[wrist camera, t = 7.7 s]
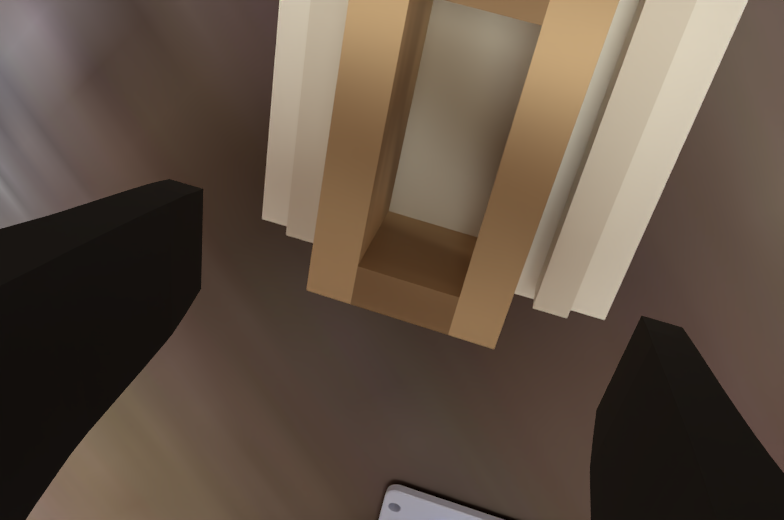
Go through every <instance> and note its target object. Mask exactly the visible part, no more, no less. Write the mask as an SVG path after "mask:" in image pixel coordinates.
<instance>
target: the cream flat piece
mask: <svg viewBox="0 0 784 520" xmlns="http://www.w3.org/2000/svg"><path fill="white" fill-rule="evenodd" d="M348 1H349V0H280V1H279V14H278V26H277V38H276V51H275V63H274V75H273V88H272V100H271V112H270V125H269V137H268V149H267V162H266V174H265V186H264V199H263V211H262V219H263V220H267V221H270V222H274V223H277V224H280V225H284V226H287V229H286V235H287V236H291V237H294V238H297V239H301V240H304V241H307V242H311V243H313V241H314V234H315V227H316V221H317V214H318V207H319V200H320V193H321V186H322V179H323V173H324V166H325V159H326V152H327V145H328V138H329V131H330V125H331V118H332V111H333V104H334V97H335V90H336V83H337V77H338V70H339V63H340V56H341V49H342V42H343V35H344V29H345V22H346V15H347V8H348ZM747 2H748V0H620V1H619V3H618V6H617V9H616V12H615V14H614V17H613V20H612V23H611V26H610V28H609V31H608V34H607V37H606V39H605V42H604V45H603V48H602V51H601V53H600V56H599V59H598V62H597V65H596V67H595V70H594V73H593V76H592V78H591V81H590V84H589V87H588V90H587V92H586V95H585V98H584V101H583V104H582V106H581V109H580V112H579V115H578V117H577V120H576V123H575V126H574V129H573V131H572V134H571V137H570V140H569V142H568V145H567V148H566V151H565V154H564V156H563V159H562V162H561V165H560V168H559V170H558V173H557V176H556V179H555V181H554V184H553V187H552V190H551V193H550V195H549V198H548V201H547V204H546V206H545V209H544V212H543V215H542V218H541V220H540V223H539V226H538V229H537V232H536V234H535V237H534V240H533V243H532V245H531V248H530V251H529V254H528V257H527V259H526V262H525V265H524V268H523V271H522V273H521V276H520V279H519V282H518V284H517V287H516V290H515V293H514V294H518V295H521V296H524V297H528V298H531V299H534V302H533V309H537V310H540V311H543V312H547V313H550V314H554V315H557V316H560V317H564V318H567V317H568V315H569V313H570V310H572V311H575V312H579V313H582V314H585V315H589V316H592V317H596V318H599V319H602V320H605V318H606V316H607V314H608V312H609V309H610V307H611V305H612V303H613V300H614V298H615V296H616V294H617V292H618V289H619V287H620V285H621V283H622V280H623V278H624V276H625V274H626V271H627V269H628V267H629V265H630V263H631V260H632V258H633V256H634V254H635V251H636V249H637V247H638V245H639V242H640V240H641V238H642V236H643V234H644V231H645V229H646V227H647V225H648V222H649V220H650V218H651V216H652V213H653V211H654V209H655V207H656V205H657V202H658V200H659V198H660V196H661V193H662V191H663V189H664V187H665V184H666V182H667V180H668V178H669V176H670V173H671V171H672V169H673V167H674V164H675V162H676V160H677V158H678V155H679V153H680V151H681V149H682V147H683V144H684V142H685V140H686V138H687V135H688V133H689V131H690V129H691V127H692V124H693V122H694V120H695V118H696V115H697V113H698V111H699V109H700V106H701V104H702V102H703V100H704V98H705V95H706V93H707V91H708V89H709V86H710V84H711V82H712V80H713V77H714V75H715V73H716V71H717V69H718V66H719V64H720V62H721V60H722V57H723V55H724V53H725V51H726V48H727V46H728V44H729V42H730V40H731V37H732V35H733V33H734V31H735V28H736V26H737V24H738V22H739V19H740V17H741V15H742V13H743V11H744V8H745V6H746V4H747Z"/></svg>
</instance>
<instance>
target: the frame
mask: <svg viewBox="0 0 784 520" xmlns="http://www.w3.org/2000/svg"><path fill="white" fill-rule="evenodd" d="M619 1H620V0H349V1H348V8H347V15H346V22H345V29H344V35H343V42H342V49H341V56H340V63H339V70H338V77H337V83H336V90H335V97H334V104H333V111H332V118H331V125H330V131H329V138H328V145H327V152H326V159H325V166H324V173H323V179H322V186H321V193H320V200H319V207H318V214H317V221H316V227H315V234H314V241H313V248H312V255H311V262H310V269H309V275H308V282H307V289H306V290H307V291H310V292H314V293H317V294H320V295H323V296H326V297H329V298H333V299H336V300H339V301H342V302H345V303H348V304H352V305H355V306H358V307H361V308H364V309H368V310H371V311H374V312H377V313H380V314H383V315H387V316H390V317H393V318H396V319H399V320H402V321H406V322H409V323H412V324H415V325H418V326H422V327H425V328H428V329H431V330H434V331H437V332H441V333H444V334H447V335H450V336H453V337H456V338H460V339H463V340H466V341H469V342H472V343H476V344H479V345H482V346H485V347H488V348H491V349H494V348H495V346H496V343H497V340H498V337H499V335H500V332H501V329H502V326H503V323H504V321H505V318H506V315H507V312H508V309H509V307H510V304H511V301H512V298H513V296H514V293H515V290H516V287H517V284H518V282H519V279H520V276H521V273H522V271H523V268H524V265H525V262H526V259H527V257H528V254H529V251H530V248H531V245H532V243H533V240H534V237H535V234H536V232H537V229H538V226H539V223H540V220H541V218H542V215H543V212H544V209H545V206H546V204H547V201H548V198H549V195H550V193H551V190H552V187H553V184H554V181H555V179H556V176H557V173H558V170H559V168H560V165H561V162H562V159H563V156H564V154H565V151H566V148H567V145H568V142H569V140H570V137H571V134H572V131H573V129H574V126H575V123H576V120H577V117H578V115H579V112H580V109H581V106H582V104H583V101H584V98H585V95H586V92H587V90H588V87H589V84H590V81H591V78H592V76H593V73H594V70H595V67H596V65H597V62H598V59H599V56H600V53H601V51H602V48H603V45H604V42H605V39H606V37H607V34H608V31H609V28H610V26H611V23H612V20H613V17H614V14H615V12H616V9H617V6H618V3H619Z"/></svg>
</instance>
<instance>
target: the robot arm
mask: <svg viewBox="0 0 784 520" xmlns="http://www.w3.org/2000/svg"><path fill="white" fill-rule="evenodd" d="M202 217H203V189H201V188H198V187H194V186H191V185H187V184H184V183H180V182H177V181H174V180H170V179H168V180H163V181H159V182H155V183H151V184H147V185H144V186H140V187H137V188H134V189H131V190H127V191H124V192H121V193H118V194H115V195H112V196H109V197H106V198H103V199H99V200H96V201H93V202H90V203H87V204H84V205H81V206H77V207H74V208H71V209H68V210H65V211H62V212H59V213H55V214H52V215H49V216H45V217H42V218H38V219H35V220H31V221H27V222H24V223H20V224H17V225H13V226H10V227H6V228H2V229H0V520H26V518H27V517H28V515H29V514H30V512H31V511H32V509H33V508H34V506H35V505H36V503H37V502H38V500H39V499H40V497H41V496H42V495H43V493H44V492H45V490H46V489H47V487H48V486H49V484H50V483H51V482H52V480H53V479H54V477H55V476H56V474H57V473H58V472H59V470H60V469H61V467H62V466H63V464H64V463H65V461H66V460H67V459H68V457H69V456H70V454H71V453H72V452H73V451H74V449H75V448H76V447H77V446H78V444H79V443H80V442H81V440H82V439H83V438H84V437H85V435H86V434H87V433H88V432H89V431H90V429H91V428H92V427H93V426H94V425H95V424H96V422H97V421H98V420H99V419H100V418H101V417H102V416H103V414H104V413H105V412H106V411H107V410H108V409H109V407H110V406H111V405H112V404H113V403H114V402H115V401H116V399H117V398H118V397H119V396H120V395H121V394H122V392H123V391H124V390H125V389H126V388H127V387H128V386H129V384H130V383H131V382H132V381H133V380H134V379H135V377H136V376H137V375H138V374H139V373H140V372H141V371H142V369H143V368H144V367H145V366H146V365H147V364H148V362H149V361H150V360H151V359H152V358H153V357H154V355H155V354H156V353H157V352H158V351H159V349H160V348H161V347H162V346H163V345H164V344H165V342H166V341H167V340H168V339H169V337H170V336H171V335H172V334H173V332H174V331H175V329H176V328H177V326H178V325H179V323H180V322H181V320H182V318H183V317H184V315H185V314H186V312H187V311H188V309H189V307H190V306H191V304H192V302H193V301H194V299H195V298H196V296H197V294H198V293H199V291H200V289H201V264H202ZM590 498H591V520H784V473H783V472H782V470H781V469H780V468H779V466H778V465H777V464H776V463H775V461H774V460H773V459H772V457H771V456H770V455H769V454H768V452H767V451H766V449H765V448H764V447H763V445H762V444H761V443H760V441H759V440H758V439H757V437H756V436H755V434H754V433H753V432H752V430H751V429H750V427H749V426H748V425H747V423H746V422H745V420H744V419H743V417H742V416H741V415H740V413H739V412H738V410H737V409H736V407H735V406H734V404H733V403H732V401H731V400H730V398H729V397H728V395H727V394H726V392H725V391H724V389H723V388H722V386H721V385H720V383H719V382H718V380H717V379H716V377H715V376H714V374H713V373H712V371H711V370H710V368H709V367H708V365H707V364H706V362H705V360H704V359H703V357H702V356H701V354H700V353H699V351H698V350H697V348H696V347H695V345H694V344H693V342H692V341H691V339H690V338H689V336H688V335H687V333H686V332H685V331H684V329H683V328H682V327H679V326H675V325H672V324H668V323H665V322H661V321H658V320H655V319H651V318H648V317H644V316H641V318H640V320H639V322H638V324H637V327H636V329H635V331H634V333H633V335H632V337H631V339H630V341H629V343H628V345H627V347H626V350H625V352H624V354H623V356H622V358H621V360H620V362H619V364H618V366H617V368H616V371H615V373H614V375H613V377H612V379H611V381H610V383H609V385H608V387H607V389H606V391H605V394H604V396H603V398H602V400H601V402H600V404H599V406H598V408H597V410H596V419H595V427H594V435H593V443H592V453H591V463H590ZM395 503H396V504H395ZM378 520H504V519H501V518H498V517H495V516H492V515H489V514H486V513H483V512H480V511H477V510H474V509H471V508H468V507H465V506H462V505H459V504H456V503H453V502H450V501H447V500H444V499H441V498H438V497H435V496H432V495H429V494H426V493H423V492H420V491H417V490H414V489H411V488H408V487H405V486H402V485H398V484H394V485H390V486H389V487H388V488H387V491H386V494H385V497H384V501H383V505H382V508H381V512H380V516H379V519H378Z"/></svg>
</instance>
